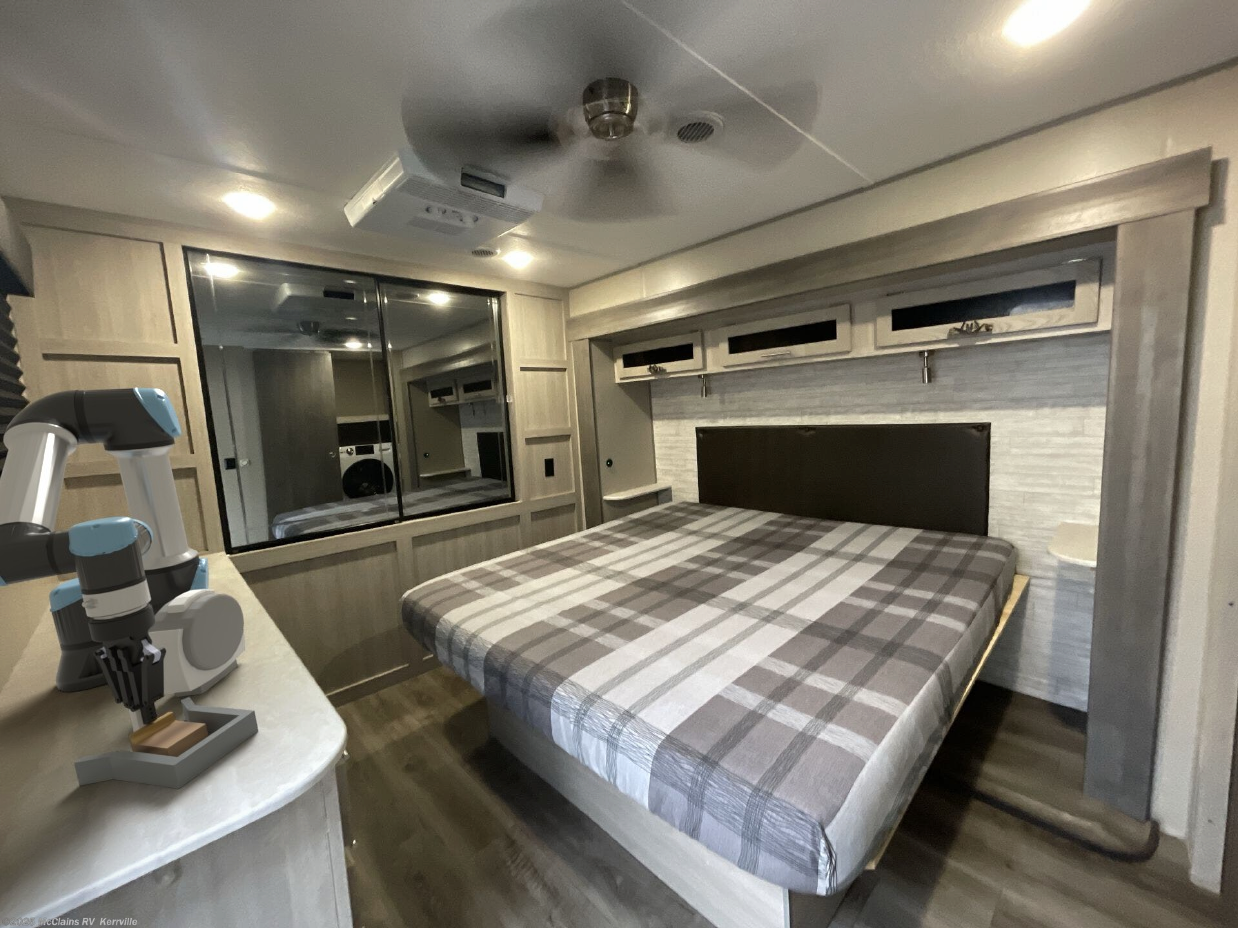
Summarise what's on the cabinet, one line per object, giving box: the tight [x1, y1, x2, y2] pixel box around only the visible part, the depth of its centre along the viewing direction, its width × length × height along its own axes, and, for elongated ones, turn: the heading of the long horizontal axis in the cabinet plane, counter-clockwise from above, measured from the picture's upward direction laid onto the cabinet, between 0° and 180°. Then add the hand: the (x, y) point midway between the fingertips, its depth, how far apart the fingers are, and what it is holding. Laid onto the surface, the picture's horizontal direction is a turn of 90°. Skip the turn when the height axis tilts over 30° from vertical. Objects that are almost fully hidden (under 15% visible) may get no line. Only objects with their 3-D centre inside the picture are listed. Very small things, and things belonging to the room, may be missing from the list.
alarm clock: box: [148, 588, 246, 698], centre depth 103 cm, size 18×8×20 cm, turn 5°
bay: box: [73, 696, 259, 789], centre depth 82 cm, size 18×17×4 cm
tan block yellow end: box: [128, 711, 209, 757], centre depth 82 cm, size 8×6×5 cm
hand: (148, 738), depth 83 cm, fingers closed
